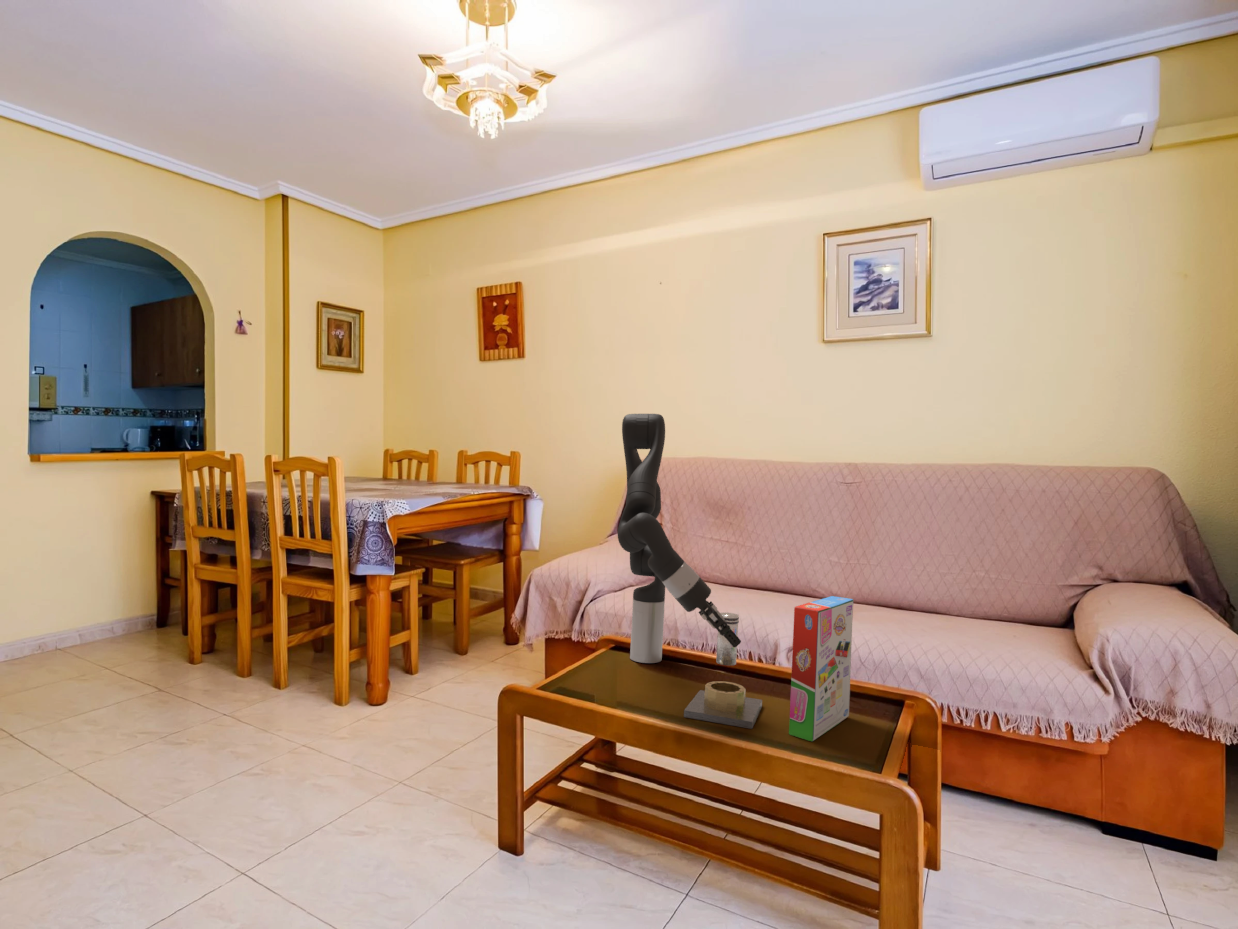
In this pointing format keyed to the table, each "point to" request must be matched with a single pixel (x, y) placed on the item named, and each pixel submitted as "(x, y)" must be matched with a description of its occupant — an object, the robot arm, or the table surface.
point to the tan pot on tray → (724, 705)
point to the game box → (820, 666)
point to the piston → (724, 648)
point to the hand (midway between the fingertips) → (735, 641)
